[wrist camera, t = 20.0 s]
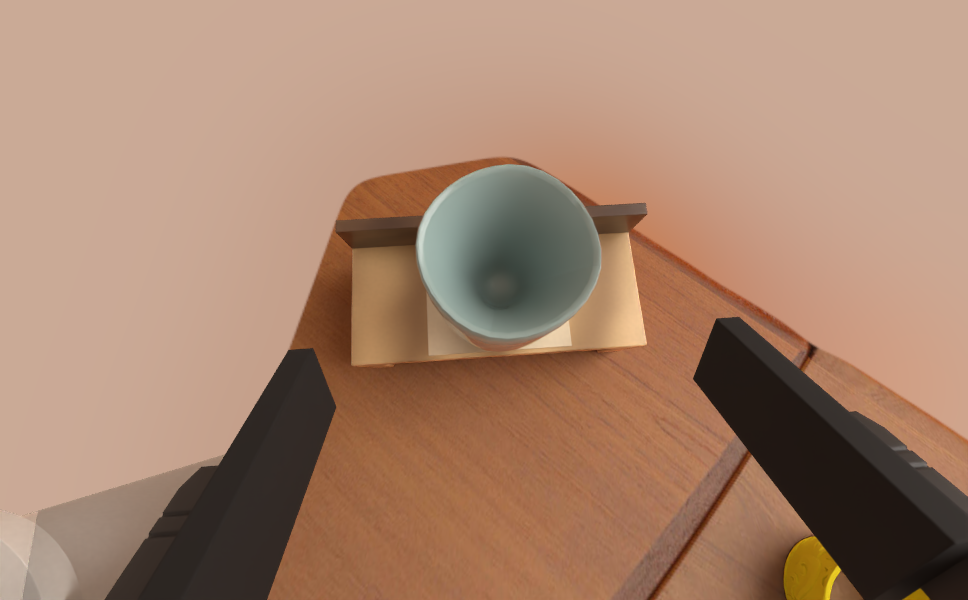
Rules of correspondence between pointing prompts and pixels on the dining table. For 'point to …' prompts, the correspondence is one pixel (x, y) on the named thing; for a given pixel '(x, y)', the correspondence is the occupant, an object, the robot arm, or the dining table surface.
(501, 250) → the cup
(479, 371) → the dining table surface
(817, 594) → the bracelet
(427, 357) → the shelf
